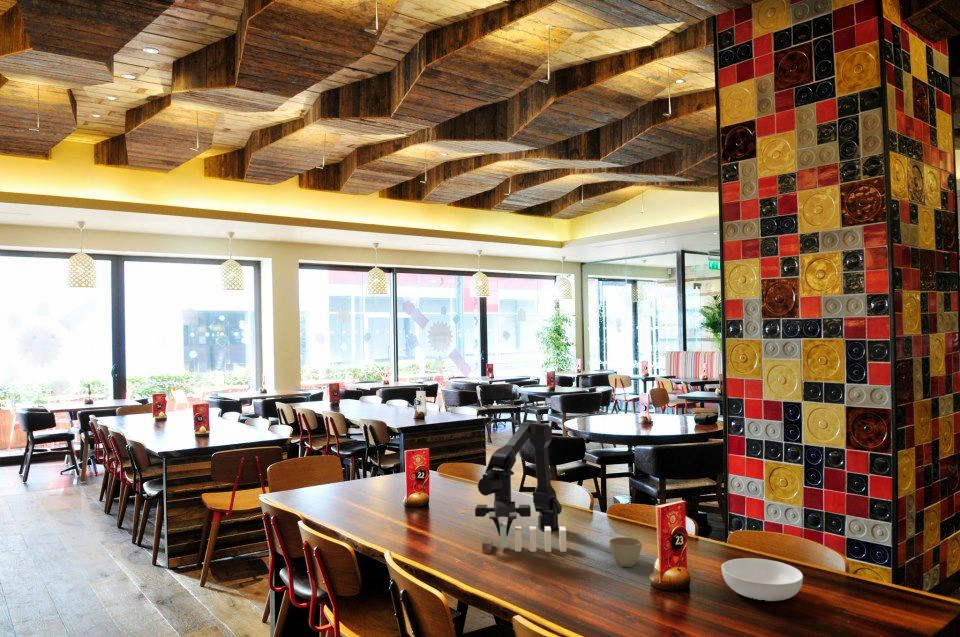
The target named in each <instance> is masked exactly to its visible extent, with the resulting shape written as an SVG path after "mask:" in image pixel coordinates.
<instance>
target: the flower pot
mask: <svg viewBox="0 0 960 637" xmlns="http://www.w3.org/2000/svg"><path fill="white" fill-rule="evenodd" d="M608 543H609V547H610V551H611V553H612V557H613V558H614V560H615V562H616V564H618V566H620V567H623V568H624V567H626V568H629V567H633V566H635V564H636V563H637V561H638V559H639V556H640V553H641V550H642V546H643V543H642V540H640V539H637V538H635V537H627V536H626V537H625V536H621V537H620V536H618V537H614V538H613V537H612V538H611V539H609V542H608Z"/></svg>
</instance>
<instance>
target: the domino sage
mask: <svg viewBox="0 0 960 637" xmlns="http://www.w3.org/2000/svg"><path fill="white" fill-rule="evenodd" d="M506 530H507V522H506V521H503V522H501V521H500V536H499V537H500V538H499V543H500V544H499V546H500V548H507V545H508V544H507V542H508V540H507V539H508V538H507V537H508V536H506Z"/></svg>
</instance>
